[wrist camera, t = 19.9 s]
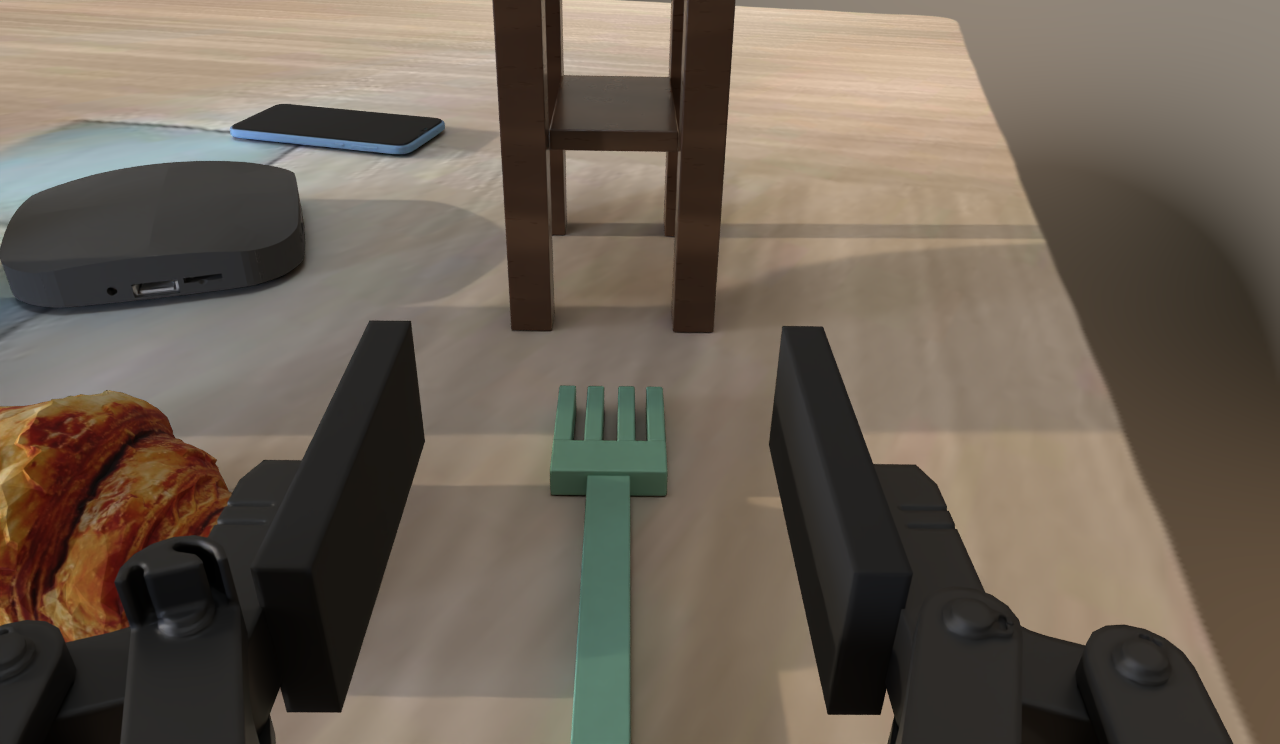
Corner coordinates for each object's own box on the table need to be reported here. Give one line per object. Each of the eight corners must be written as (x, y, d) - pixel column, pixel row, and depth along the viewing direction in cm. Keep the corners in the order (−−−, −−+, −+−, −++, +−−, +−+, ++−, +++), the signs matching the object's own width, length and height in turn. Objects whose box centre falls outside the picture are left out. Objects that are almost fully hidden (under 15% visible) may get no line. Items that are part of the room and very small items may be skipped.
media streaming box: (51, 215, 58) (36, 168, 57) (301, 192, 63) (293, 148, 61) (-3, 324, 47) (-24, 268, 45) (310, 287, 51) (300, 235, 49)
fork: (689, 923, 22) (691, 894, 22) (502, 923, 22) (499, 894, 22) (661, 409, 41) (662, 386, 41) (560, 408, 41) (559, 384, 41)
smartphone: (278, 102, 77) (449, 117, 74) (280, 112, 78) (450, 128, 75) (221, 127, 71) (405, 145, 68) (224, 138, 72) (407, 157, 68)
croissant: (-199, 624, 34) (-443, 537, 28) (-24, 389, 39) (-197, 268, 32) (296, 800, 28) (135, 744, 22) (431, 497, 33) (334, 374, 26)
